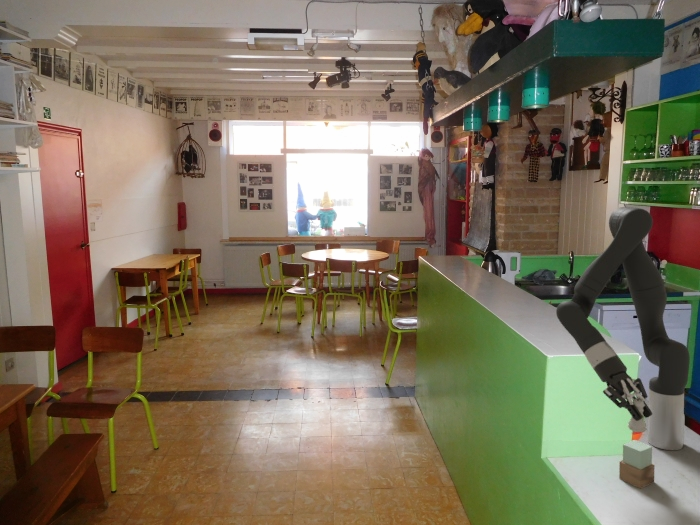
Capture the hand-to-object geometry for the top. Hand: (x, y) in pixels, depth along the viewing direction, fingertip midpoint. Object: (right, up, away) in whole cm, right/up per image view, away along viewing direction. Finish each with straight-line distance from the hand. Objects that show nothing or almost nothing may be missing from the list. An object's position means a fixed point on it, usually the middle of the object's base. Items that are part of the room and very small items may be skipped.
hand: (644, 417), depth 138 cm
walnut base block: (0, -18, +4) cm, 19 cm away
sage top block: (0, -13, +3) cm, 14 cm away
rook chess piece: (-1, -4, +2) cm, 5 cm away
